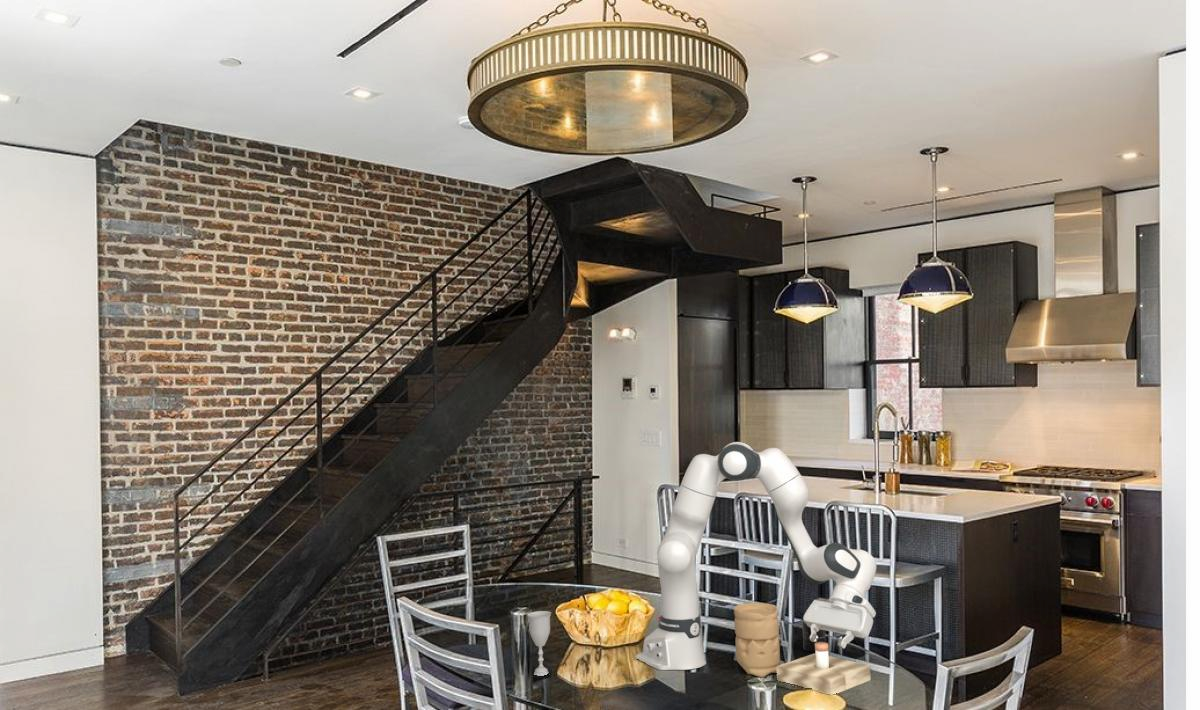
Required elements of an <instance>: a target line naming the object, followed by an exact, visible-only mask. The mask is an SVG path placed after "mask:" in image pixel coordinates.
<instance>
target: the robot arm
mask: <svg viewBox="0 0 1200 710" xmlns="http://www.w3.org/2000/svg"><path fill="white" fill-rule="evenodd" d="M751 478H756V479H758V480H759V481H760V483H761V484H762V485H763V487H764V489H765V490H766V492H767V494H768V496H769V497H770V499H771V501H772V503H773V505H774V508H775V510H776V515H777V520H778V521H779V524H780V526H781V528H782V530H783V532H784V534H785V536H786V539H787V540H788V542H789V544H790V546H791V549H792V551H793V552H794V555H795V558H796V561H797V566H798V570H799V572H800V574H801V576H802V577H803V578H804V579H805V580H806V582H809V583H810V584H813V585H822V584H823V583H826V582H828V581H831V580H833V581H834V582H835V585H834V588H833V590H832V592H831V594H830V596H829V598H823V597H818V598H816V599H814V600H813V601H812V603H810V605H809V606H808V608H807V609H806V610H807V611H806V610H805V611H806V613H804V615H803V617H802V619H803V620H804V622H805V623H806V625H807V626H808V627H811V635H810V640H811V641H813V642H817V640H818V638H819V637H818V636H817V635H816V631H817V632H818V631H819V629H821V630H825V632H827V631H828V632H831V633H837V634H840V635H845V636H844V637H843V638H841V639H840V638H839V639H838V642H837V646H838V647H839V648H841V649H845V648H846V647H847V644H849V643H850V642H851V641H853V640H854V639H855V637H857V638H861V639H865V638H867V637H868V636H869V634H870V632H871V631H872V629H873V628H872V627H873V623H874V618H875V616H876V615H877V612H876V609H874V607H873V606H872V605H871V603H870V602H869V601H868V600H867V598H866V595H867V592H868V591H869V590H870V588H871V587H872V584H873V582H874V579H875V577H876V573H877V561H876V559H875V557H874V556H872V554H871V553H869V552H868V551H866V550H863V549H861V548H860V549H854V548H849V547H847V546H846V545H844V544H842V543H841V542H840V543H839V542H831V543H828V544H824V545H822V546H818V547H817V546H816V545H815V544H814V543H813V541H812V539H811V537H810V535H809V533H808V531H807V529H806V527H805V525H804V523H803V520H802V519H803V518H802V517H803V515H802V514H803V511H804V509H805V508H806V505H807V504H808V501H809V497H810V490H809V488H808V485H807V483H806V481H805V479H804V477H803V476H802V474H801V473H800V472H799V470H798V468H797V467H796V466H795V464H794V463H793V462H792V460H791V459H790V458H789V457H788V456H787V455H786V454H785V452H784V451H783V450H781V449H780V448H778V447H769V448H766V449H764V450H762V451H759V452H757V451H755V449H754V448H753V447H752V446H751V445H750V444H747V443H745V442H742V441H734V442H731V443H728V444H727V445H725V446H724V447H723V448H722V450H721V451H720V452H719V453H718V454H717V455H710V454H707V453H700V454H697V455H695V456H694V457H693V458H692V459H691V460H690V463H689V465H688V467H687V469H686V470H685V473H684V476H683V478H682V481H681V483H680V486H679V488H678V489H679V490H678V492H677V494H676V498H675V501H674V504H673V507H672V510H671V515H670V518H669V520H668V524H667V528H666V531H665V534H664V537H663V539H662V541H661V542H660V543H659V545H658V548H657V550H656V551H657V552H656V556H657V567H658V576H659V577H658V578H659V584H660V592H661V593H660V594H661V597H660V598H661V615H660V616H656V617H655V619H656V620H655V622H657V621H658V626H657V628H656V629H654V630H653V631H652V632H651V633H650V634H649V635H647V636H646V637H645V638H644V641H643V649H642V652H639V653H637V654H636V655H635V659H636V658H637V659H639V660H641V661H643V662H645V663H646V664H645V663H644V664H645V665H647V666H650V667H652V668H654V669H657V670H659V671H669V670H673V671H674V670H675V671H676V670H678V671H679V670H682V671H686V670H694V669H698V668H702V667H703V666H705V665H707V660H706V658H707V657H706V654H705V651H704V647H703V646H704V644H703V639H702V638H703V636H702V632H701V627H702V624H701V623H702V619H701V615H700V614H699V611H700V610H699V608H700V607H699V593H698V592H699V589H698V582H697V573H696V572H697V571H696V556H697V555H698V551H699V549H700V545H701V541H702V539H703V536H704V532H705V529H706V527H707V524H708V520H709V517H710V515H711V511H712V508H713V506H714V504H715V500H716V496H717V493H718V491H719V488H720V485H721V483H722V482H723V481H724V480H725V479H728V480H730V481H734V482H738V481H744V480H748V479H751ZM803 620H802V621H803ZM637 659H636V660H637ZM639 660H638V661H639ZM641 661H640V662H641ZM643 662H642V663H643Z"/></svg>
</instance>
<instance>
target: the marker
mask: <svg viewBox="0 0 1200 710" xmlns="http://www.w3.org/2000/svg"><path fill="white" fill-rule="evenodd" d="M815 653H816V668H820V669H824V670H826V669H828V668H829V656H830V655H829V643H828V642H826V643H825V642H817V643H815Z"/></svg>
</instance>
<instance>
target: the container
mask: <svg viewBox="0 0 1200 710" xmlns="http://www.w3.org/2000/svg"><path fill="white" fill-rule="evenodd" d="M778 610H779V609H778V606H777V605H775V604H772V603H764V602H748V603H747V602H746V603H741V604H737V605H735V606H734V607H733V614H734V633H735V635H736V636H735V659H736V662H737V663H738V664H739V665H740V667H742V669H743V670H744V671H745V672H746V674H748V675H754V676H756V677H759V678H763V677H764V678H766V677H767V675H770V674H775V673H777V668H776V666H779V665H781V651H780V629H779V628H780V626H779V618H778V616H779V611H778Z"/></svg>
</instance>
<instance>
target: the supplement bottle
mask: <svg viewBox="0 0 1200 710" xmlns="http://www.w3.org/2000/svg"><path fill="white" fill-rule="evenodd" d="M806 611H807V609H806V610H805V611H804V612H805V613H806ZM805 613H804V614H805ZM810 635H811V627H808V626H807V625H806V623H805V622H804V620H802V640H803V641H802V645H803V650H804V651H805V650H806V652H807V651H811V652H810V653H814V652H815V643H817V642H825V643H827V642H826V630H821V629H819V631H818V632H817V631H816V635H817V636H818V637H819V638H818V640H817V642H813V641H811V640H810Z"/></svg>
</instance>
